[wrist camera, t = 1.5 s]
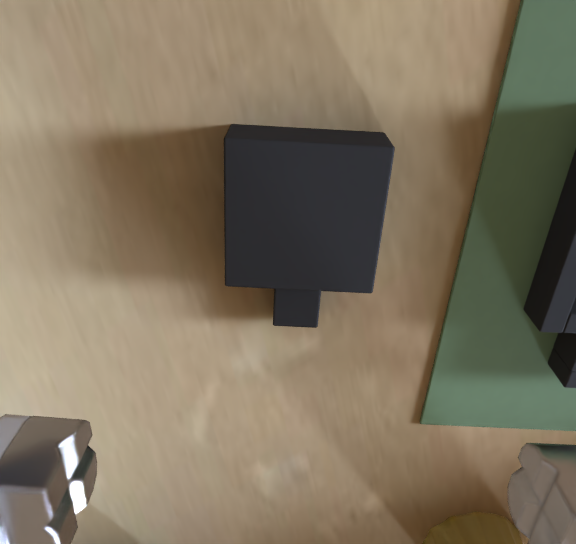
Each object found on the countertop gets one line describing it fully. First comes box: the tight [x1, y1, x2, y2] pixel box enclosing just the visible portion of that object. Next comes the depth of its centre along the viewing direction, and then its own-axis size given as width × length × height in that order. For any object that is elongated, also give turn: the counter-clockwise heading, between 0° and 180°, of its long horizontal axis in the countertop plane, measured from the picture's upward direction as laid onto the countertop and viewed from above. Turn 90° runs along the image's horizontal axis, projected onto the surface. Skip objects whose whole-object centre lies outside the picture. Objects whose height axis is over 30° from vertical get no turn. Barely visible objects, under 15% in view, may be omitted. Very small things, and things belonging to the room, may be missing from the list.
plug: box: [224, 124, 395, 328], centre depth 21 cm, size 8×6×3 cm
